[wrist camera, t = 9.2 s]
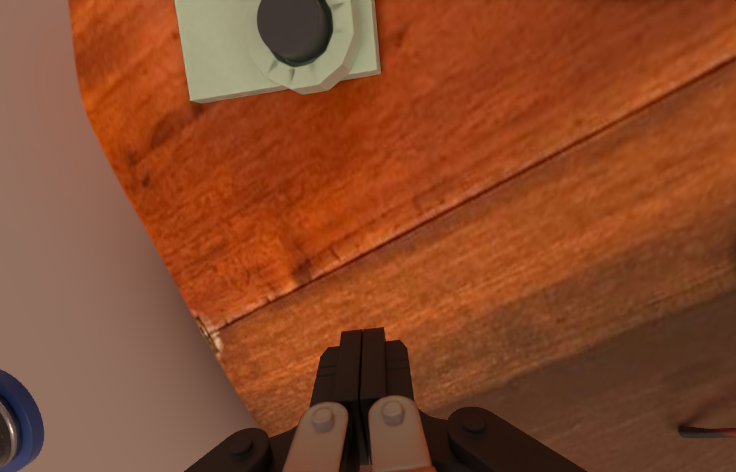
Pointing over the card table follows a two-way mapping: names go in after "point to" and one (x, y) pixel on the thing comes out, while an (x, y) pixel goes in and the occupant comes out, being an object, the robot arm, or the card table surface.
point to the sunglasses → (706, 432)
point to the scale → (262, 65)
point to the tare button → (293, 28)
